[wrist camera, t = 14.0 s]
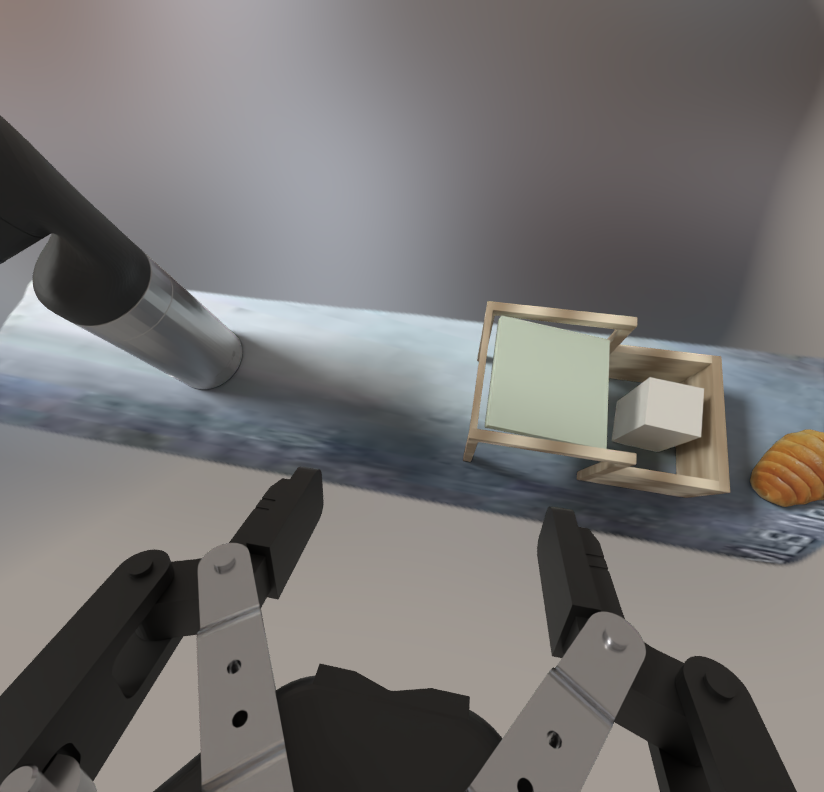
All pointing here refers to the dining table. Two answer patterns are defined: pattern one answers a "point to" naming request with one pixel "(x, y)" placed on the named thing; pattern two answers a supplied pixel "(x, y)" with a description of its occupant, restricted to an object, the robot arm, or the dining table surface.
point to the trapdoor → (549, 383)
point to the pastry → (792, 470)
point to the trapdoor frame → (695, 460)
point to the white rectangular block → (659, 415)
